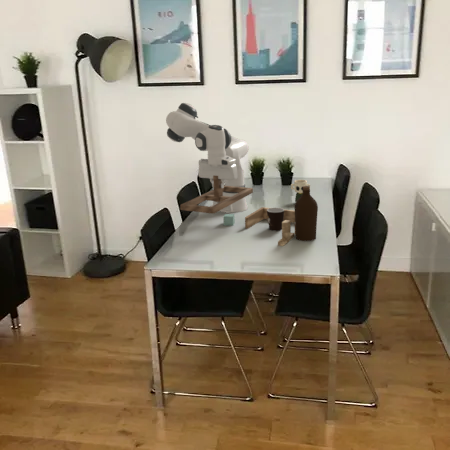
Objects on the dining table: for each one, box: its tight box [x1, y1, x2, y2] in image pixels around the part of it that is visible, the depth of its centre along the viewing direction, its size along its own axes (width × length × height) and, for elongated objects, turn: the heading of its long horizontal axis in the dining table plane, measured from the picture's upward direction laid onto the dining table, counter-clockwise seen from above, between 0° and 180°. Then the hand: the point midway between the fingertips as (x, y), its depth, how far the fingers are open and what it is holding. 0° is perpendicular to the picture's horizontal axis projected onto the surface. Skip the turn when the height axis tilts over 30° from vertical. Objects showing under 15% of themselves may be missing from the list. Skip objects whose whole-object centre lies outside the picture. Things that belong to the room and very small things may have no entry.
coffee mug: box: [267, 207, 285, 232], centre depth 256 cm, size 12×9×10 cm
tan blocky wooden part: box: [277, 220, 295, 247], centre depth 236 cm, size 3×14×10 cm, turn 151°
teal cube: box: [222, 213, 236, 226], centre depth 266 cm, size 5×5×5 cm
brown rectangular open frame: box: [179, 176, 254, 215], centre depth 251 cm, size 18×41×13 cm, turn 151°
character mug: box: [290, 179, 311, 203], centre depth 299 cm, size 11×7×13 cm, turn 80°
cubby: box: [244, 206, 296, 236], centre depth 259 cm, size 28×20×6 cm
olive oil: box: [294, 185, 319, 242], centre depth 237 cm, size 11×11×25 cm
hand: (218, 187), depth 251 cm, fingers closed on brown rectangular open frame, 3 cm apart
